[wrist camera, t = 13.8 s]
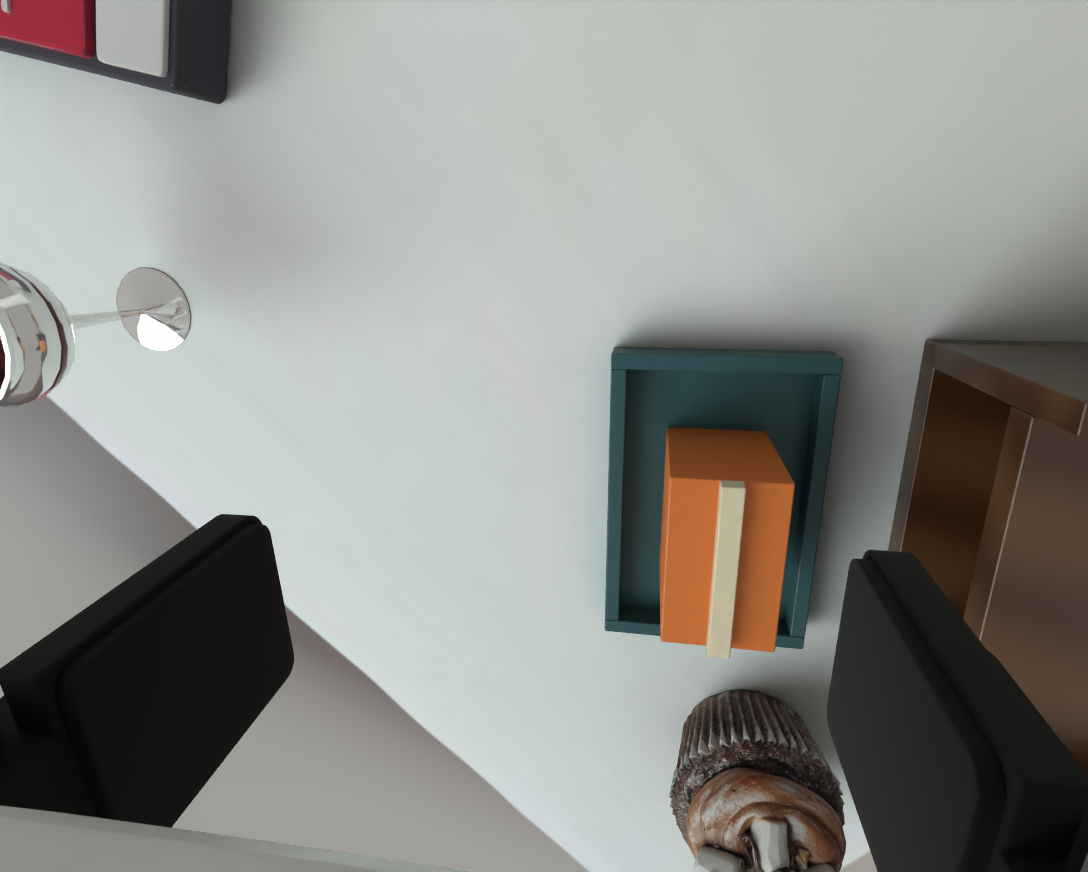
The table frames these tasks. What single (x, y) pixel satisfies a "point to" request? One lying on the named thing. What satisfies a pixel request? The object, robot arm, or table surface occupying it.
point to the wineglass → (76, 327)
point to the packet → (723, 539)
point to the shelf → (1007, 509)
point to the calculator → (127, 40)
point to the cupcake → (755, 789)
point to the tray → (712, 403)
